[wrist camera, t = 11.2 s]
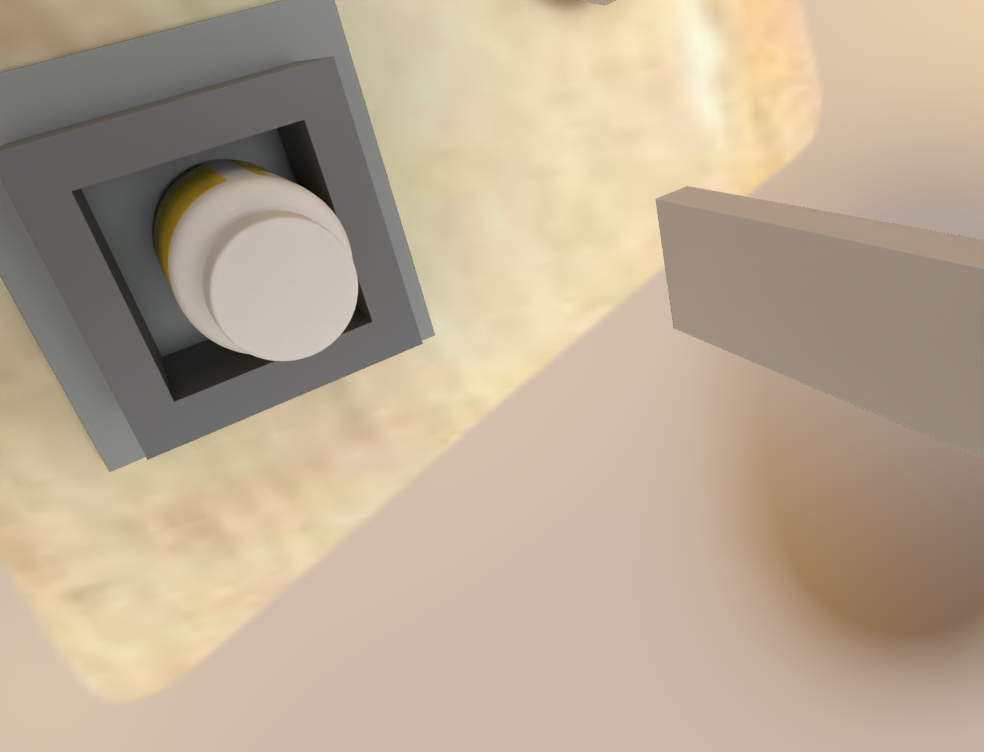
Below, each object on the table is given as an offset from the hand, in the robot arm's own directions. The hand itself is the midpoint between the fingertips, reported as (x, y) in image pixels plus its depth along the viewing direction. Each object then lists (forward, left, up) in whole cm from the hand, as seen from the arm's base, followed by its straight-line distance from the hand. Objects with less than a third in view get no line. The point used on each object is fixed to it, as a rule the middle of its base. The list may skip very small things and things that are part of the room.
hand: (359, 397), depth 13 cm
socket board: (0, 0, -20) cm, 20 cm away
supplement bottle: (0, +1, -19) cm, 19 cm away
